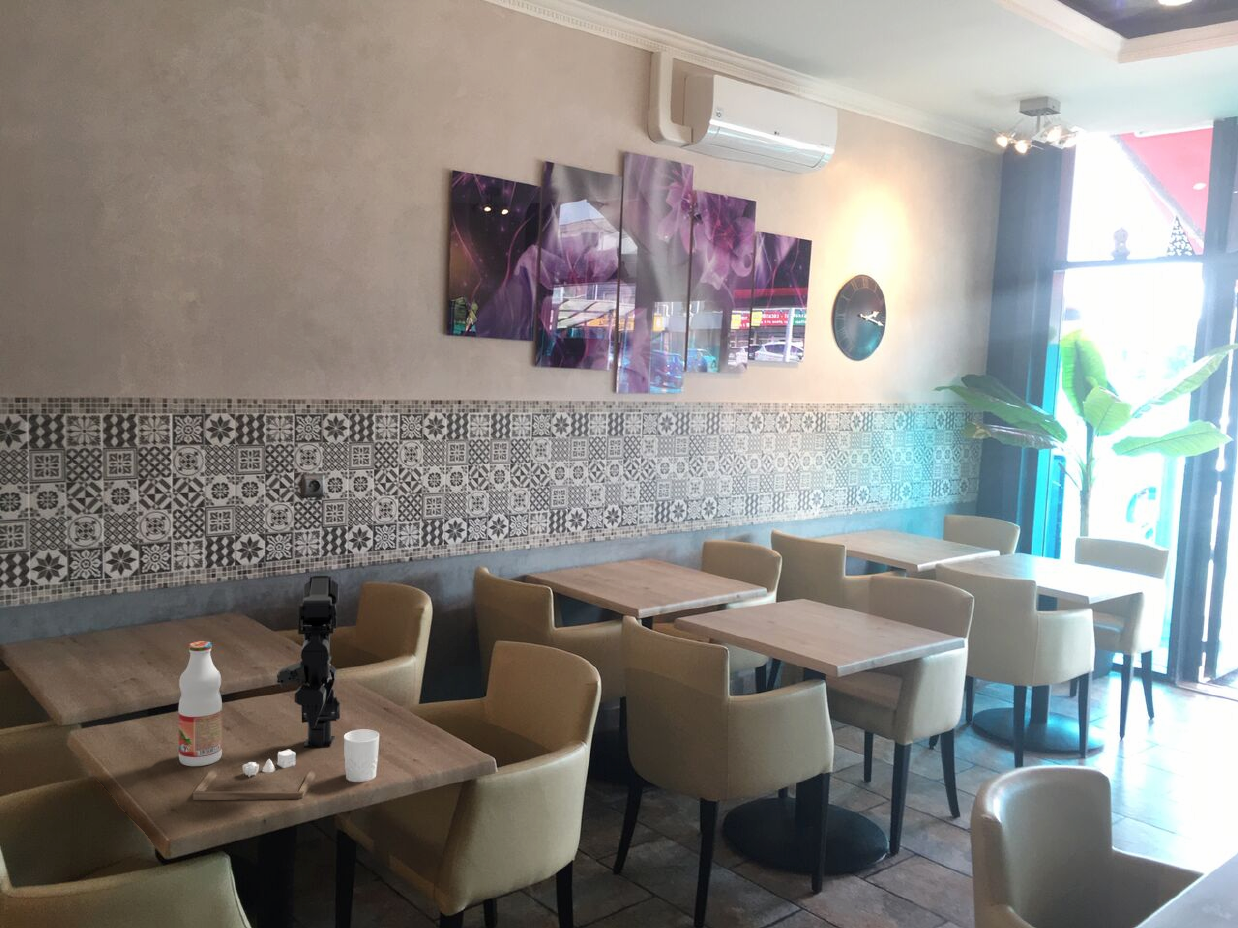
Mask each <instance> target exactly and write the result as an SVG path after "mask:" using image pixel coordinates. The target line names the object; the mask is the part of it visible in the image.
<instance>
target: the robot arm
mask: <svg viewBox="0 0 1238 928" xmlns="http://www.w3.org/2000/svg"><path fill="white" fill-rule="evenodd" d="M339 595H340V587H339V584H338V583H337V582H336V581H334V580H333V579H332V576H331V575H328V574H326V575H325V574H319V575H318V574H317V575H312V576H309V581H307V582H306V583H305V584H304V585H303V597H302V598H303V601H302V604H299V610H298V629H297V631H298V632H297V635H303V643H302V648H301V652H300V658H301V659H300V660H301V661H300V662H299V663H297V662H296V663H294V664H291V665H289V666H285V667H283V668H280V670H278V671H277V673H276V678H277V680H276V683H277V684H279V685H280V687H281V688H286V687H287V686H288V685H291V684H295V683H297V682H299V685H300V686H299V687H298V688H297V689H296V692H295V693H294V703H295V704H297V705H299V706H301V723H302V724H304V723H307V739H306V740H305V742H304V744H303V747H304V748H331V746H332V744H333V743H334V741H335V739H336V736H335V735H332V722H338V720H340V718H341V715H340V714H341V703H340V702H339V700H338V697H337V696H335V689H334V688H333V687H334V685H335V682H336V679H337V676H338V675H337V668H336V666H334V665H331V663H330V662H331V660H332V654H330V653H331V651H330V650H331V647H330V645H331V634H335V629H337V628H338V627H337V625H338V622H337V621H338V608H337V605H339V604H340V603H339V599H340V598H339V597H340V596H339ZM302 625H303V626H302Z"/></svg>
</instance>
